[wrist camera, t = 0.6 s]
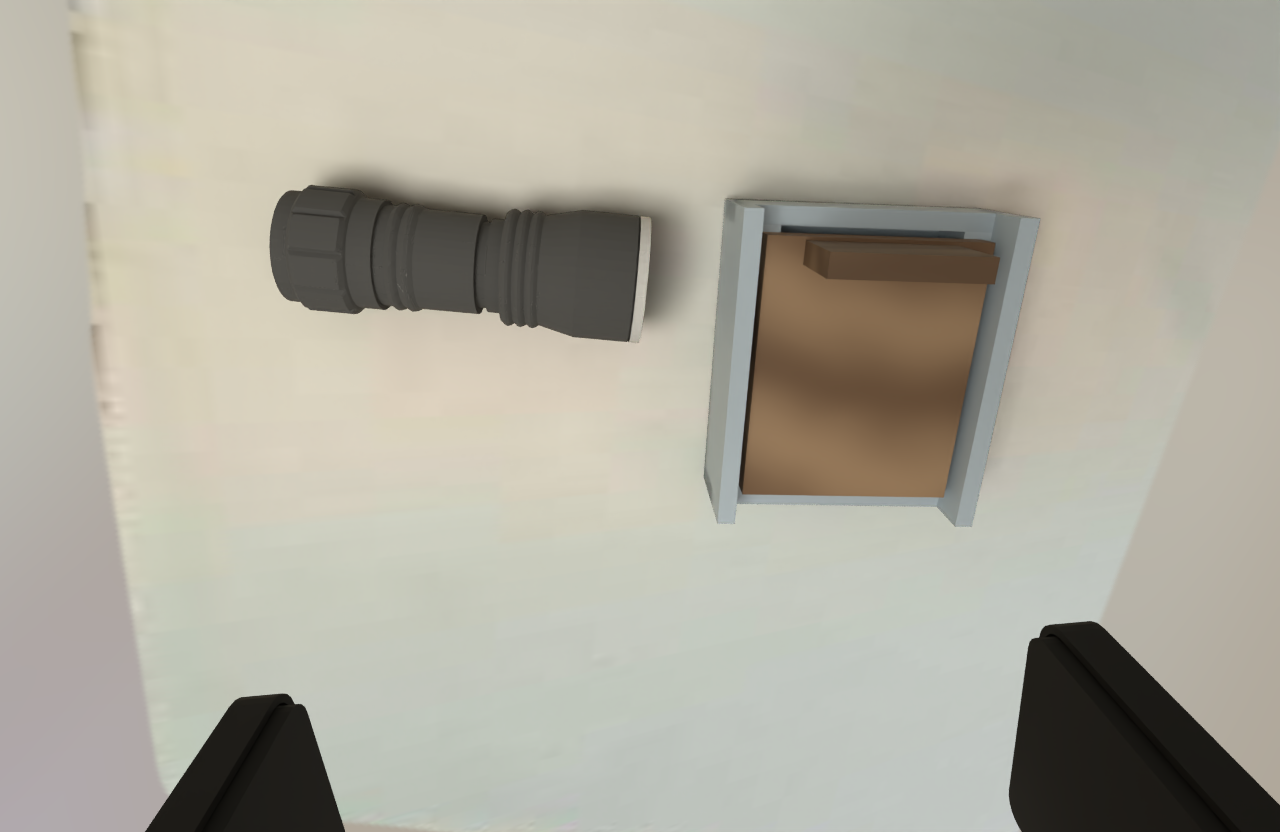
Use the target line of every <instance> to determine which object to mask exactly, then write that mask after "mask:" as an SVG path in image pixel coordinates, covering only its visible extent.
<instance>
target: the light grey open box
mask: <svg viewBox="0 0 1280 832" xmlns="http://www.w3.org/2000/svg"><path fill="white" fill-rule="evenodd" d="M1039 223H1040V218H1034V217H1028V216H1022V215H1016V214H1010V213H1004V212H998V211H992V210H986V209H981V208H954V207H928V206H902V205H875V204H849V203H822V202H796V201H770V200H743V199H725V206H724V219H723V232H722V245H721V258H720V271H719V284H718V297H717V311H716V324H715V337H714V350H713V363H712V376H711V389H710V402H709V415H708V428H707V441H706V455H705V468H704V479H705V483H706V486H707V490H708V493H709V496H710V500H711V503H712V506H713V510H714V513H715V517H716V520H717V523H719V524H735V516H736V506H737V504H786V505H854V506H923V507H938V508H939V510H940V511H941V512H942V513H943V514H944V515H945V516H946V517H947V518H948V519H949V520H950V522H951V523H952V524H953V525H954V526H955V527H972V523H973V519H974V514H975V510H976V506H977V501H978V497H979V492H980V488H981V483H982V479H983V474H984V470H985V465H986V461H987V456H988V452H989V447H990V443H991V438H992V434H993V429H994V425H995V420H996V416H997V411H998V407H999V402H1000V398H1001V393H1002V389H1003V384H1004V380H1005V376H1006V371H1007V367H1008V362H1009V358H1010V353H1011V349H1012V344H1013V340H1014V335H1015V331H1016V326H1017V322H1018V317H1019V313H1020V308H1021V304H1022V299H1023V295H1024V290H1025V286H1026V281H1027V277H1028V272H1029V268H1030V263H1031V259H1032V254H1033V250H1034V245H1035V241H1036V237H1037V232H1038V228H1039ZM762 232H784V233H812V234H840V235H869V236H897V237H925V238H953V239H981V240H986V241H990V242H994V243H996V244H995V249H994V254H993V256H997V257H1000V262H999V267H998V271H997V276H996V281H995V285H994V284H987V288H986V293H985V298H984V303H983V308H982V313H981V318H980V322H979V327H978V332H977V337H976V342H975V347H974V352H973V357H972V362H971V366H970V371H969V376H968V381H967V386H966V391H965V396H964V401H963V405H962V410H961V415H960V420H959V425H958V430H957V435H956V440H955V445H954V449H953V454H952V459H951V464H950V469H949V474H948V479H947V484H946V489H945V493H944V498H937V497H872V496H807V495H742V492H741V490H740V487H739V474H740V464H741V453H742V443H743V432H744V421H745V411H746V400H747V390H748V379H749V369H750V358H751V348H752V337H753V327H754V316H755V306H756V295H757V285H758V274H759V264H760V253H761V243H762Z"/></svg>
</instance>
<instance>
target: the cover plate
mask: <svg viewBox="0 0 1280 832" xmlns="http://www.w3.org/2000/svg"><path fill="white" fill-rule="evenodd" d="M995 244H996V243H994V242H990V241H986V240H981V239H953V238H925V237H897V236H869V235H840V234H812V233H784V232H762V243H761V253H760V264H759V274H758V285H757V295H756V306H755V316H754V327H753V337H752V348H751V358H750V369H749V379H748V390H747V400H746V411H745V421H744V432H743V443H742V453H741V464H740V474H739V487H740V490H741V492H742V495H807V496H872V497H937V498H944V493H945V489H946V484H947V479H948V474H949V469H950V464H951V459H952V454H953V449H954V445H955V440H956V435H957V430H958V425H959V420H960V415H961V410H962V405H963V401H964V396H965V391H966V386H967V381H968V376H969V371H970V366H971V362H972V357H973V352H974V347H975V342H976V337H977V332H978V327H979V322H980V318H981V313H982V308H983V303H984V298H985V293H986V288H987V284H994V285H995V281H996V276H997V271H998V267H999V262H1000V257H997V256H993V254H994V249H995Z"/></svg>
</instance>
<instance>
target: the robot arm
mask: <svg viewBox="0 0 1280 832" xmlns="http://www.w3.org/2000/svg"><path fill="white" fill-rule="evenodd" d="M1009 800H1010V805H1011V809H1012V813H1013V815H1014V818H1015V820H1016V822H1017V824H1018V826H1019V828H1020V830H1021V831H1022V832H1280V805H1279V804H1278V803H1277V802H1276V801H1275V800H1274V799H1273V798H1272V797H1271V796H1270V795H1269V794H1268V793H1267V792H1266V791H1265V790H1264V789H1263V788H1262V787H1261V786H1260V785H1259V784H1258V783H1257V782H1256V781H1255V780H1254V779H1253V778H1252V777H1251V776H1250V775H1249V774H1248V773H1247V772H1246V771H1245V770H1244V769H1243V768H1242V767H1241V766H1240V765H1239V764H1238V763H1237V762H1236V761H1235V760H1234V759H1233V758H1232V757H1231V756H1230V755H1229V754H1228V753H1227V752H1226V751H1225V750H1224V749H1223V748H1222V747H1221V746H1220V745H1219V744H1218V743H1217V742H1216V740H1215V739H1214V738H1213V737H1212V736H1211V735H1210V734H1209V733H1208V732H1207V731H1206V730H1204V728H1203V727H1202V726H1201V725H1200V724H1198V722H1196V720H1194V718H1192V716H1191V715H1190V714H1189V713H1188V712H1187V711H1186V710H1185V709H1184V708H1183V707H1182V706H1181V705H1180V704H1179V703H1178V702H1177V701H1176V700H1175V699H1174V698H1173V697H1172V696H1171V695H1170V694H1169V693H1168V692H1167V691H1166V690H1165V689H1164V688H1163V687H1162V686H1161V685H1160V684H1159V683H1158V682H1157V681H1156V680H1155V679H1154V678H1153V677H1152V676H1151V675H1150V674H1149V673H1148V672H1147V671H1146V670H1145V669H1144V668H1143V667H1142V666H1141V665H1140V664H1139V663H1138V662H1137V661H1136V660H1135V659H1134V658H1133V657H1132V656H1131V655H1130V654H1129V653H1128V652H1127V651H1126V650H1125V649H1124V648H1123V647H1122V646H1121V645H1120V644H1119V643H1118V642H1117V641H1116V640H1115V639H1114V638H1113V637H1112V636H1111V635H1110V634H1109V633H1108V632H1107V631H1106V630H1105V629H1104V628H1103V627H1102V626H1100V625H1099V624H1098V623H1095V622H1092V621H1087V622H1076V623H1065V624H1054V625H1047V626H1045V627H1044V628H1043V629H1042V630H1041V633H1040V637H1039V638H1034V639H1032V640H1031V641H1030V643H1029V646H1028V653H1027V660H1026V668H1025V675H1024V683H1023V690H1022V697H1021V705H1020V712H1019V720H1018V727H1017V735H1016V742H1015V750H1014V757H1013V764H1012V772H1011V779H1010V787H1009ZM145 832H345V829H344V826H343V823H342V820H341V817H340V814H339V811H338V807H337V804H336V801H335V798H334V795H333V792H332V789H331V785H330V782H329V779H328V776H327V773H326V770H325V766H324V763H323V760H322V757H321V754H320V751H319V748H318V744H317V741H316V738H315V735H314V732H313V729H312V725H311V722H310V719H309V716H308V713H307V711H306V708H305V707H304V706H303V705H302V704H294V702H293V700H292V698H291V697H290V696H289V695H288V694H273V695H261V696H250V697H241V698H239V699H237V700H235V701H234V702H233V703H232V704H231V706H230V707H229V708H228V710H227V711H226V713H225V714H224V716H223V717H222V719H221V720H220V722H219V723H218V725H217V726H216V727H215V729H214V730H213V732H212V733H211V735H210V736H209V738H208V739H207V741H206V742H205V744H204V745H203V747H202V748H201V750H200V751H199V753H198V754H197V756H196V757H195V759H194V760H193V762H192V763H191V765H190V766H189V767H188V769H187V770H186V772H185V773H184V775H183V776H182V778H181V779H180V781H179V782H178V784H177V785H176V787H175V788H174V790H173V791H172V793H171V794H170V796H169V797H168V799H167V800H166V802H165V803H164V805H163V806H162V807H161V809H160V810H159V812H158V813H157V815H156V816H155V818H154V819H153V821H152V822H151V824H150V825H149V827H148V828H147V830H146V831H145Z"/></svg>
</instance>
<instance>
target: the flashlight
mask: <svg viewBox="0 0 1280 832" xmlns="http://www.w3.org/2000/svg"><path fill="white" fill-rule="evenodd" d="M650 247H651V218H650V217H643V216H640V218H639V216H633V215H623V214H614V213H605V212H595V211H586V210H582V211H575V212H568V213H561V214H554V215H547V216H546V215H545V214H544V213H543V212H541V211H539V212H536V213H535V214H533V213H532V212H531V211H529V210H526V211H524V212H522V213H521V212H520V211H519V210H518V209H513V210H511V211H509V212H508V213H507V215H506V218H505V220H500V219H493V220H492V222H491V223H490V222H488V220H487V217H486V216H485V215H480V214H470V213H461V212H451V211H442V210H432V209H426V208H425V207H424V206H422V205H419V204H415V205H413V206H410V205H408V204H406V203H401V204H399V205H398V206H394V205H393V204H392V203H391V202H390V201H388V200H381V199H371V198H367V196H366V195H365V194H364V193H363V192H361V191H359V190H353V189H343V188H334V187H324V186H315V185H309V186H308V187H307V188H306V189H304V190H303V191H288V192H286V193H285V194H284V195H283V196H282V197H281V198H280V200H279V201H278V203H277V205H276V208H275V211H274V215H273V219H272V224H271V230H270V259H271V267H272V272H273V276H274V279H275V282H276V284H277V287H278V289H279V291H280V292H281V294H282V295H283V296H284V297H285V298H286V299H287V300H290V301H297V302H301V303H302V304H303V305H304V306H305V307H308V308H309V309H310V310H317V311H328V312H339V313H349V314H357V313H360V312H361V311H362V310H363V309H364V308H372V309H383V310H385V309H388V308H389V307H390V306H394V307H395V308H396V309H398V310H405V309H407V308H408V309H409V310H411V311H420V310H422V309H430V310H441V311H452V312H463V313H474V314H480V313H481V312H482V310H483V308H486V309H487V311H488V312H493V313H499V314H500V319H501V321H502V322H503V323H504V324H505V325H507V326H509V325H512V324H514V323H515V324H516V325H517V326H519V327H522V326H524V325H526V324H527V325H528V326H529V327H531V328H534V327H536V326H538V325H540V326H543V327H546V328H549V329H551V330H554V331H557V332H560V333H563V334H566V335H569V336H572V337H579V338H590V339H601V340H612V341H624V342H627V341H628V342H633V343H639V341H640V337H641V331H642V324H643V318H644V311H645V302H646V293H647V283H648V274H649V261H650ZM639 251H640V252H639ZM637 270H638V271H637Z"/></svg>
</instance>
